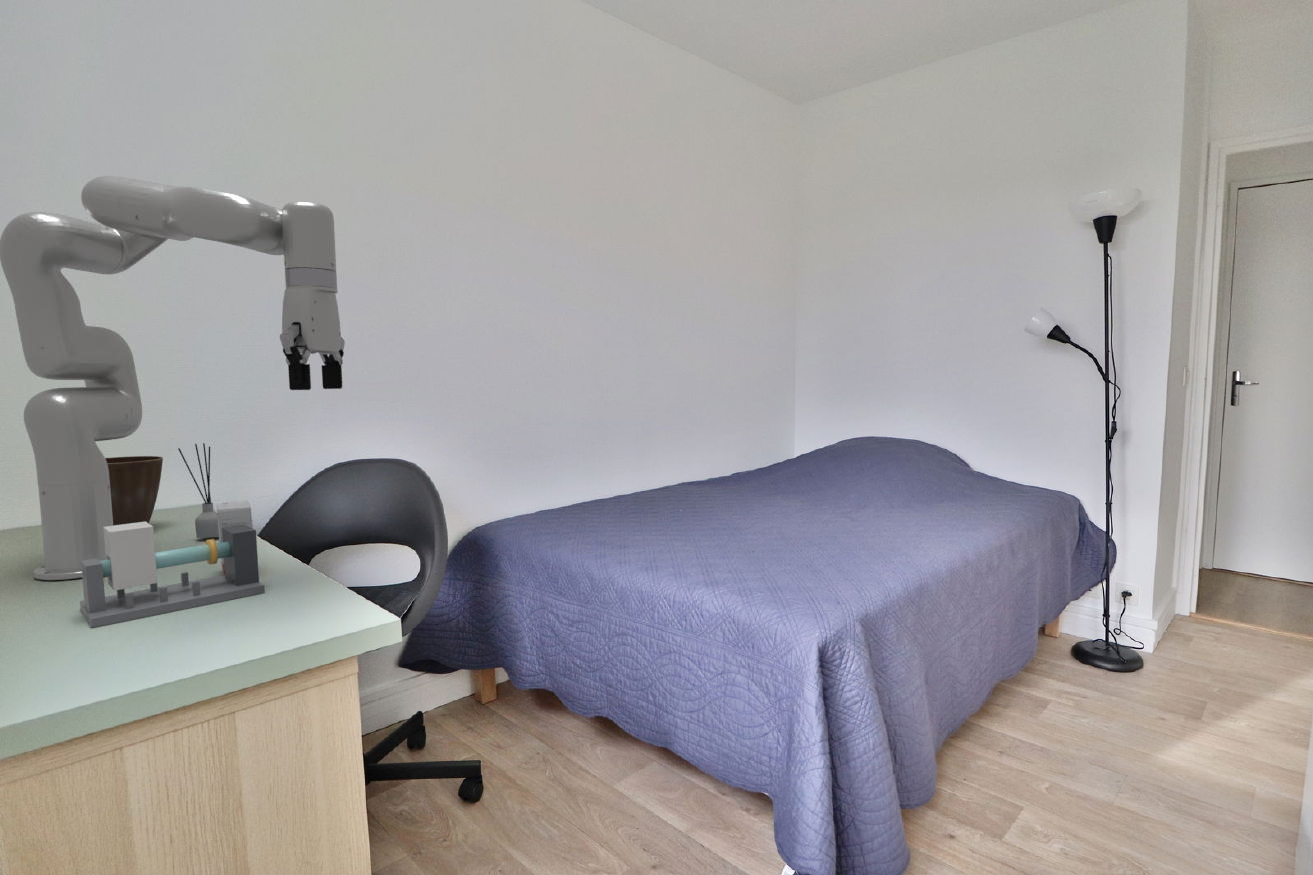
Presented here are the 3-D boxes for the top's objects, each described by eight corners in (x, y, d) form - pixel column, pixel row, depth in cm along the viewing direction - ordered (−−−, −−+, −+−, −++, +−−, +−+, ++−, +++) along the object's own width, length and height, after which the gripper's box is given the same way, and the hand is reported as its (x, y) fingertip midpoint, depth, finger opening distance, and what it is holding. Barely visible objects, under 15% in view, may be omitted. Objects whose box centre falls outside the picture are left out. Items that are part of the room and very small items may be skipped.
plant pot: (125, 524, 163) (120, 455, 161) (184, 526, 161) (179, 455, 159) (63, 539, 148) (56, 463, 147) (126, 541, 146) (120, 463, 144)
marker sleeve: (113, 590, 98) (109, 532, 98) (107, 583, 102) (103, 526, 101) (157, 582, 102) (153, 526, 101) (149, 575, 106) (145, 521, 105)
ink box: (257, 576, 118) (253, 506, 117) (222, 581, 116) (217, 510, 115) (253, 565, 126) (249, 499, 125) (220, 570, 123) (215, 502, 122)
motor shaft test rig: (91, 627, 95) (86, 558, 94) (80, 609, 102) (75, 545, 102) (264, 592, 109) (261, 532, 109) (243, 578, 117) (239, 522, 116)
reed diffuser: (231, 540, 146) (224, 442, 144) (192, 546, 141) (185, 445, 139) (214, 533, 153) (208, 440, 151) (176, 539, 147) (169, 442, 146)
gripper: (317, 289, 124) (323, 388, 125) (255, 276, 106) (262, 390, 108) (359, 289, 123) (364, 388, 125) (304, 275, 106) (310, 390, 107)
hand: (317, 389), depth 116 cm, fingers open, 9 cm apart
